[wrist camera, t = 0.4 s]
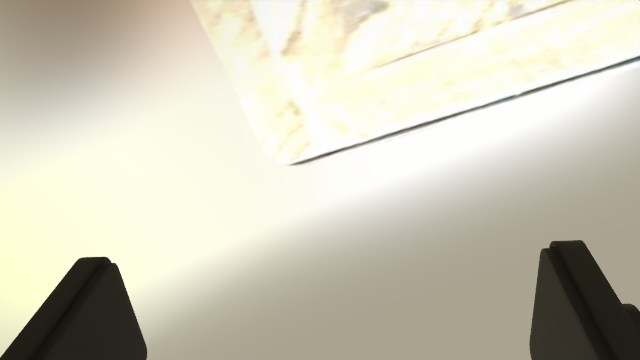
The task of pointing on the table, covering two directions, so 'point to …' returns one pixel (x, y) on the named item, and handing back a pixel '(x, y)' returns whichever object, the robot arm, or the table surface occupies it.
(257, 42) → the table surface
